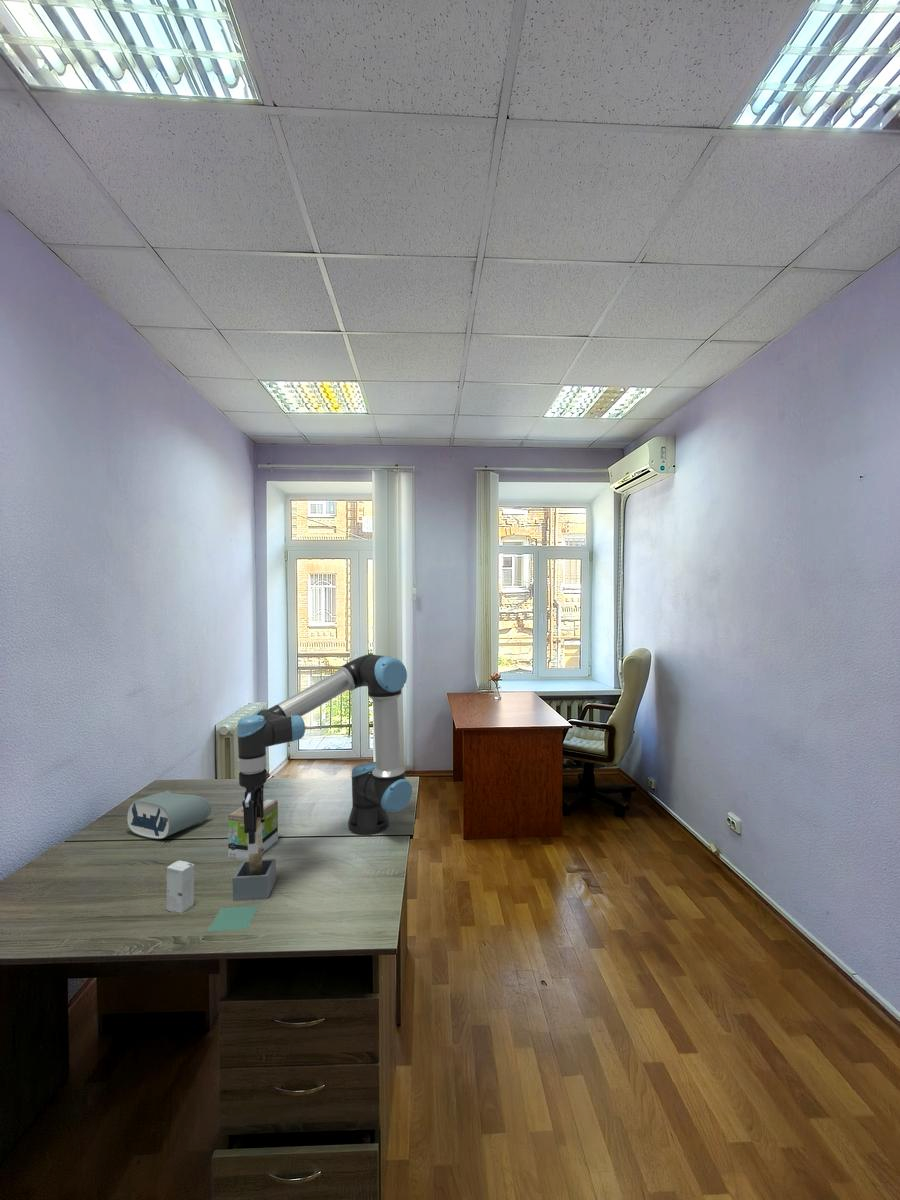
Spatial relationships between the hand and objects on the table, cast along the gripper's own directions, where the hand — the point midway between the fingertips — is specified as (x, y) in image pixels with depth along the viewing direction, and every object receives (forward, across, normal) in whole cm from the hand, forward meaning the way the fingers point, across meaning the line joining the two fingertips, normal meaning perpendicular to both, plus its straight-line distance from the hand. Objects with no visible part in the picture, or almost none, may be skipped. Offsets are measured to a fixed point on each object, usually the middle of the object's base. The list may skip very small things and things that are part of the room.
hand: (255, 849), depth 152 cm
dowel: (+7, 0, 0) cm, 7 cm away
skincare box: (+12, +6, -19) cm, 23 cm away
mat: (+12, +13, -2) cm, 18 cm away
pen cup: (+12, 0, 0) cm, 12 cm away
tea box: (+13, -26, -8) cm, 31 cm away
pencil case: (+13, -48, -45) cm, 67 cm away
